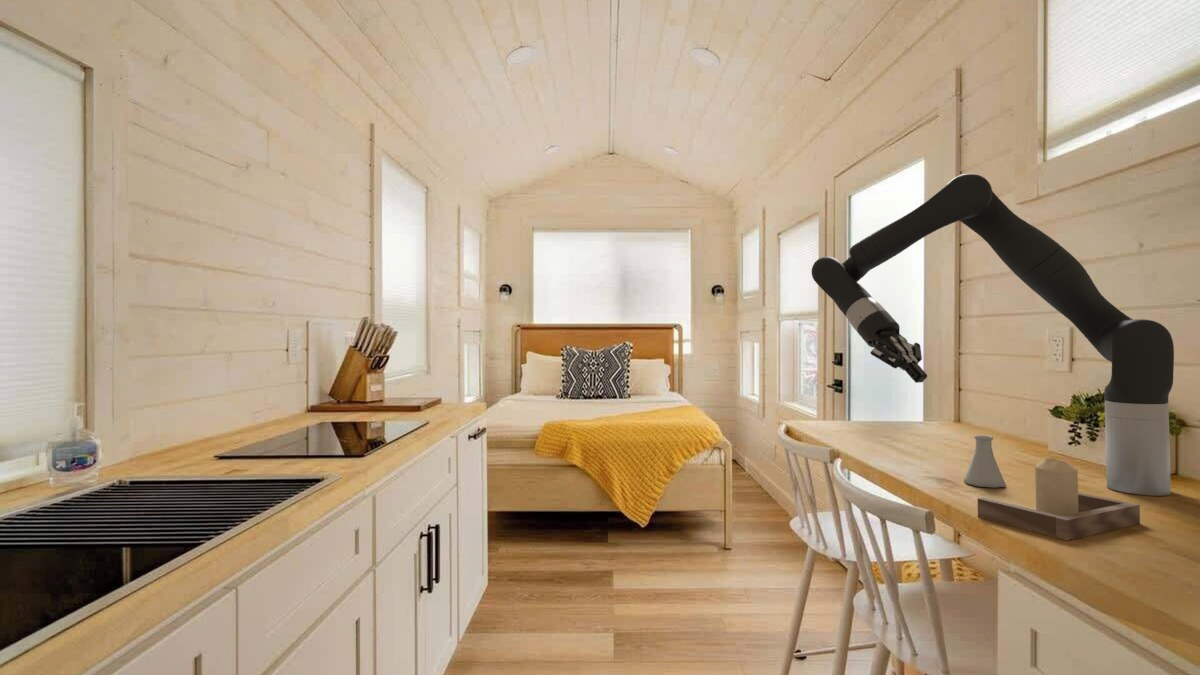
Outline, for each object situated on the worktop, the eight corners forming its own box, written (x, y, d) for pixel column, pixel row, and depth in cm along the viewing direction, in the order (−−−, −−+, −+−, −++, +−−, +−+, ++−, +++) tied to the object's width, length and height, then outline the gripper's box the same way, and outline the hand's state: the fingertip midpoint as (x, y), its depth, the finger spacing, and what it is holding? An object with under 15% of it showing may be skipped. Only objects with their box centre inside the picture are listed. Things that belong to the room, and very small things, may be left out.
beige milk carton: (1087, 525, 94) (1086, 462, 94) (1051, 525, 94) (1050, 462, 94) (1062, 515, 99) (1060, 455, 99) (1028, 515, 99) (1027, 456, 100)
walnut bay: (1048, 502, 106) (1047, 486, 107) (1139, 523, 94) (1139, 504, 94) (977, 516, 99) (977, 498, 99) (1067, 540, 87) (1067, 520, 87)
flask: (956, 480, 125) (955, 433, 125) (991, 480, 124) (990, 433, 124) (977, 489, 117) (976, 439, 117) (1014, 488, 117) (1013, 438, 117)
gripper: (858, 309, 126) (910, 368, 114) (903, 309, 131) (956, 366, 119) (840, 334, 131) (887, 393, 119) (884, 333, 136) (933, 390, 124)
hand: (922, 379), depth 119 cm, fingers closed
